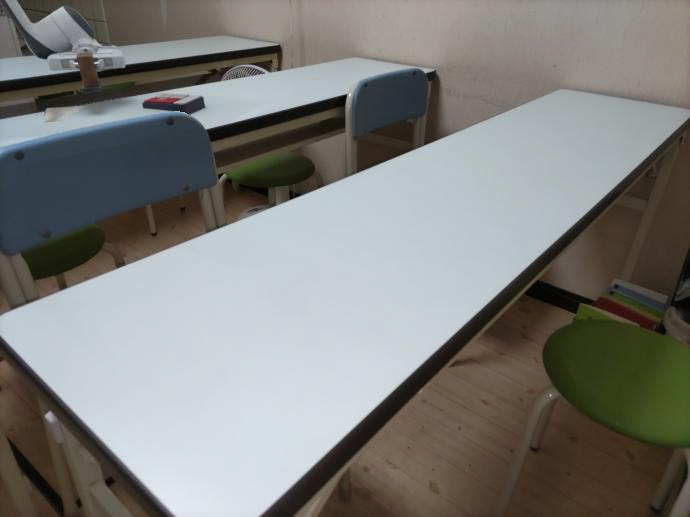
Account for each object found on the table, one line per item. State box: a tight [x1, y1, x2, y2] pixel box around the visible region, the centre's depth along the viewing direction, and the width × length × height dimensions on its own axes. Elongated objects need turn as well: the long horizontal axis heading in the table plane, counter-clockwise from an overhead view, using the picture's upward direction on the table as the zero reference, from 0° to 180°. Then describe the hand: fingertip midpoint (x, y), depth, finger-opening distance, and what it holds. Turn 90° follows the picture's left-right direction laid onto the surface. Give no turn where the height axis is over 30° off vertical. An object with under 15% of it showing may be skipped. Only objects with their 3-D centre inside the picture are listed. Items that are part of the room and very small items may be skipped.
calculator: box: [142, 93, 206, 115], centre depth 157 cm, size 11×4×15 cm
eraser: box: [76, 52, 103, 94], centre depth 145 cm, size 5×10×9 cm, turn 23°
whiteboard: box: [42, 105, 90, 124], centre depth 149 cm, size 20×16×1 cm
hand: (87, 66), depth 143 cm, fingers closed on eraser, 4 cm apart
